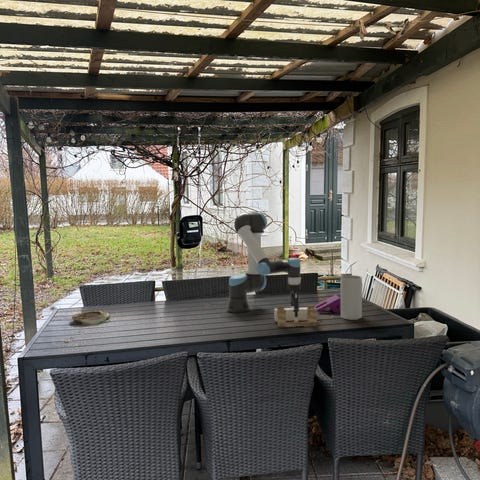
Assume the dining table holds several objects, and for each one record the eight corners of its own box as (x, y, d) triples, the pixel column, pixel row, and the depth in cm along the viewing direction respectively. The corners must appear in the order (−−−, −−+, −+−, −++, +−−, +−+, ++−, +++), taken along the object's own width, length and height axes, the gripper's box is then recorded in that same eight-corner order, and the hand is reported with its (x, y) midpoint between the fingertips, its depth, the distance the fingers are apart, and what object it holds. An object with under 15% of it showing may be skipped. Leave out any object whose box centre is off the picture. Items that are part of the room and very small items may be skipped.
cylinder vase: (336, 317, 261) (336, 277, 259) (347, 313, 270) (347, 274, 268) (355, 321, 253) (355, 280, 250) (365, 316, 262) (365, 276, 259)
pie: (78, 330, 249) (78, 322, 249) (58, 322, 268) (57, 315, 267) (121, 319, 270) (120, 312, 269) (99, 313, 288) (98, 305, 288)
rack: (277, 322, 255) (277, 306, 254) (314, 321, 255) (313, 304, 254) (279, 327, 245) (278, 310, 244) (317, 326, 246) (317, 309, 245)
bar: (274, 319, 261) (274, 308, 261) (318, 318, 262) (318, 307, 261) (275, 321, 257) (275, 310, 257) (319, 320, 258) (319, 308, 257)
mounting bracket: (320, 322, 273) (345, 309, 273) (315, 311, 272) (340, 298, 272) (317, 318, 282) (341, 305, 282) (311, 307, 281) (335, 294, 281)
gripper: (303, 287, 246) (303, 324, 248) (297, 279, 269) (298, 313, 271) (290, 287, 246) (291, 325, 248) (285, 280, 269) (286, 314, 271)
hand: (294, 319), depth 260 cm, fingers open, 11 cm apart
